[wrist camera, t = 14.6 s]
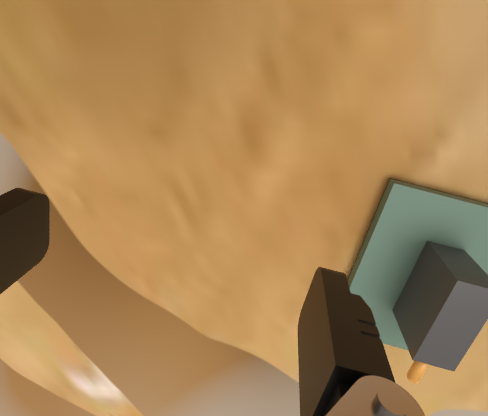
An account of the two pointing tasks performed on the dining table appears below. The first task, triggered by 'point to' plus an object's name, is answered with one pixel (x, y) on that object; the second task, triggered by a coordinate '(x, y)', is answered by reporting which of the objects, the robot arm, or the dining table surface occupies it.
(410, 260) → the header board
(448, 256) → the block
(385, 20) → the dining table surface
